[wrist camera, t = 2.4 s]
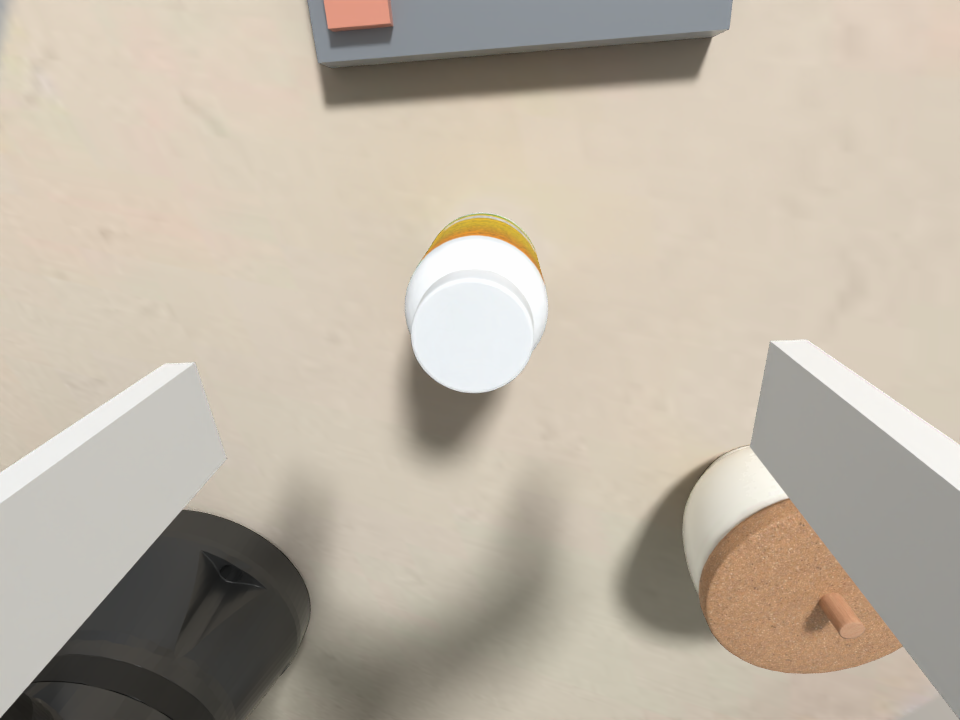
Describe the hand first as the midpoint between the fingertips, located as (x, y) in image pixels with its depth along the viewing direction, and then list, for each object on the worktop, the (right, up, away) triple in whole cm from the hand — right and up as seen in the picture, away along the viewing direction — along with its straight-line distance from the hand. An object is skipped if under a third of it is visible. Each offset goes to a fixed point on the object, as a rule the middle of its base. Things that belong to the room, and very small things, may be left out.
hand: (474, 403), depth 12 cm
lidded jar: (+16, -6, +18) cm, 25 cm away
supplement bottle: (0, +6, +13) cm, 14 cm away
